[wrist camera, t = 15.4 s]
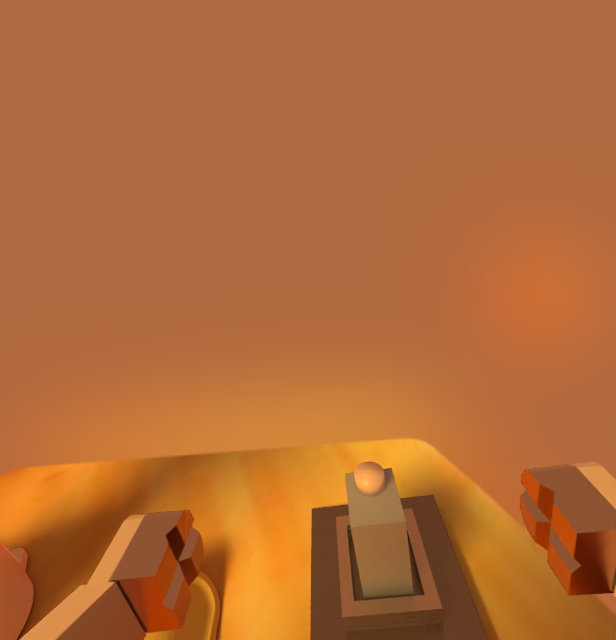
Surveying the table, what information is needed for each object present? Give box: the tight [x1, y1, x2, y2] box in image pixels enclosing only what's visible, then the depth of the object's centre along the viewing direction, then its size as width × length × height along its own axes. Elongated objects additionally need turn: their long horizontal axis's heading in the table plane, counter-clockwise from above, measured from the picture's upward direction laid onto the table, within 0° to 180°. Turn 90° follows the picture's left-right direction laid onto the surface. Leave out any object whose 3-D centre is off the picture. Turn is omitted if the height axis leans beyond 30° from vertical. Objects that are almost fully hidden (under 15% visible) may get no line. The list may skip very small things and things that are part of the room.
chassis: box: [311, 495, 488, 640], centre depth 30 cm, size 13×14×3 cm
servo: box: [345, 462, 414, 600], centre depth 28 cm, size 4×5×10 cm
